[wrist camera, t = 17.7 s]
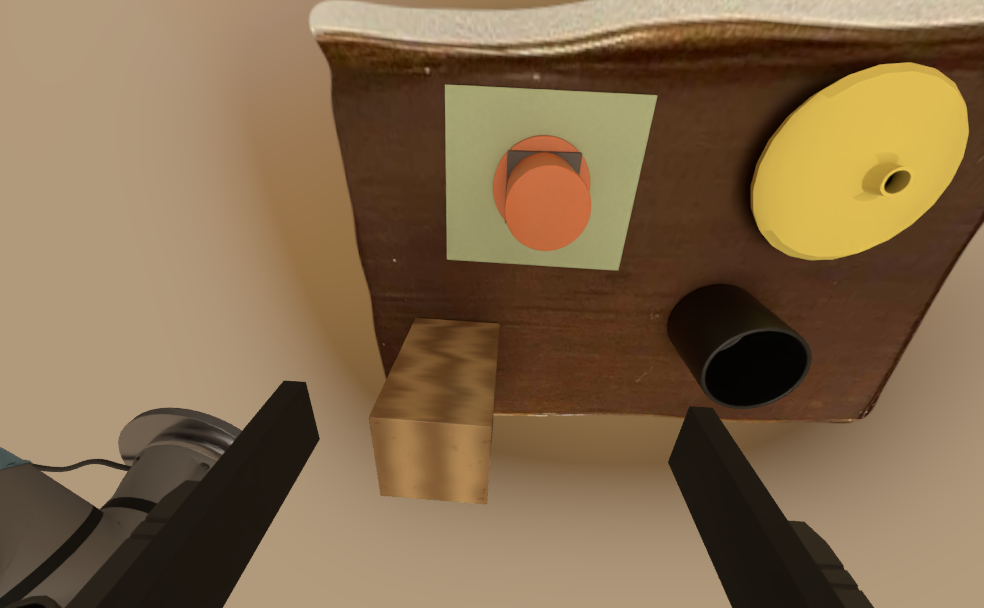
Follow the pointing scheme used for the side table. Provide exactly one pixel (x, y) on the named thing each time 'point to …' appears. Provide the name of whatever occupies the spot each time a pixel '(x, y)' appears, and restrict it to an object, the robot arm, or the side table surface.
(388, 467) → the block
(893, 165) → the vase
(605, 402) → the side table surface
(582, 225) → the hat
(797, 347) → the mug
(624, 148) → the mat
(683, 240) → the side table surface
